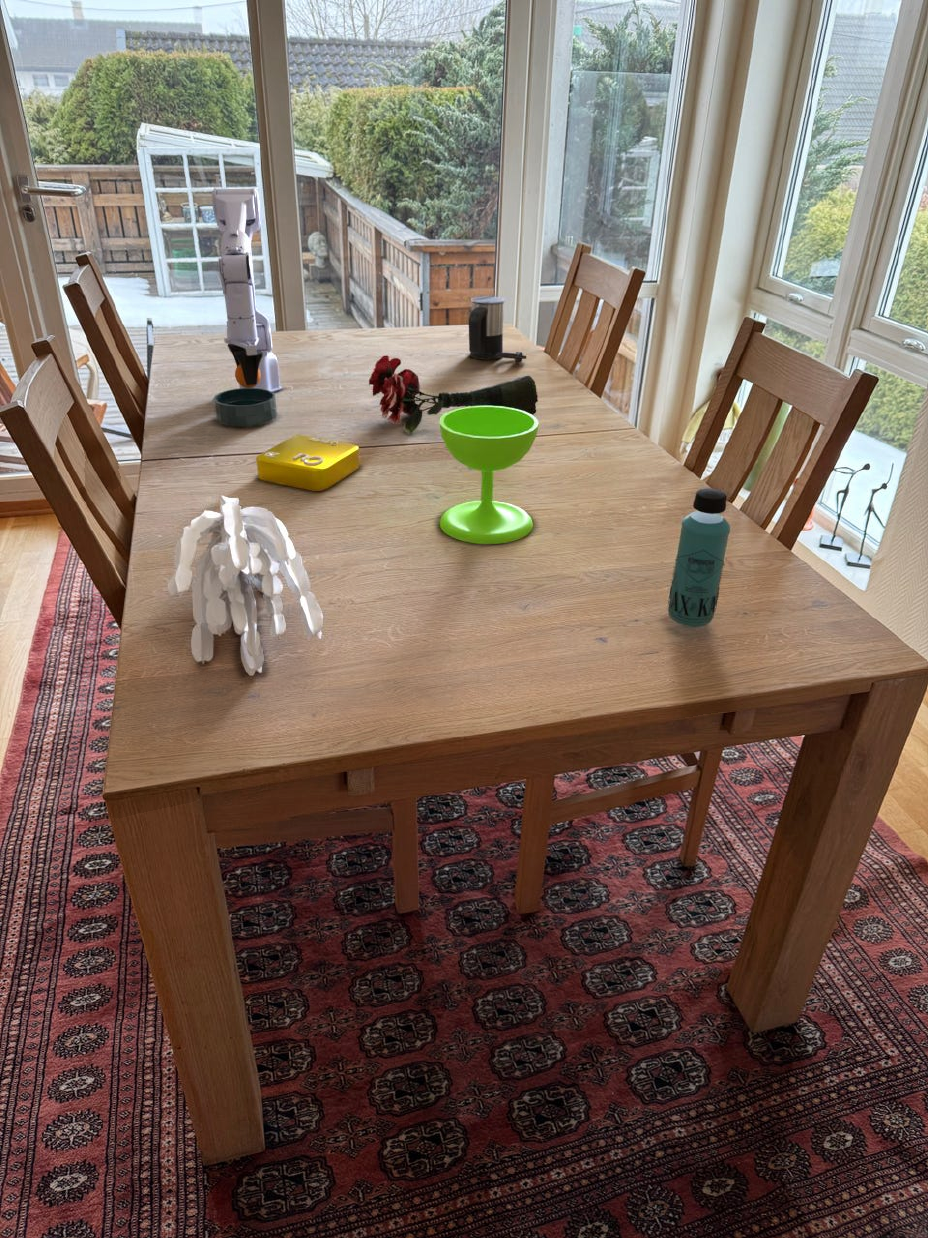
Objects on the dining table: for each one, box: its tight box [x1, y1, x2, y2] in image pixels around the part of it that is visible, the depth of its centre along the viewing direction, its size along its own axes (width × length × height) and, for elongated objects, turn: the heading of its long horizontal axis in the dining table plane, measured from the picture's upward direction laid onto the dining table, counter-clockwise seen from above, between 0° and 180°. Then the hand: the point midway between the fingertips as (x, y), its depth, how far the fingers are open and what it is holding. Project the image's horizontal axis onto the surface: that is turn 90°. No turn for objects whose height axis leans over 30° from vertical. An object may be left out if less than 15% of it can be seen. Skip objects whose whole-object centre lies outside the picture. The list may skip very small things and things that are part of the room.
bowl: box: [212, 387, 278, 428], centre depth 200 cm, size 13×13×5 cm
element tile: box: [255, 434, 360, 492], centre depth 173 cm, size 15×15×5 cm
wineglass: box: [438, 406, 540, 545], centre depth 151 cm, size 16×16×18 cm
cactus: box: [166, 494, 324, 677], centre depth 125 cm, size 17×18×35 cm
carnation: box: [368, 354, 539, 435], centre depth 200 cm, size 16×18×35 cm
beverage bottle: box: [666, 487, 731, 628], centre depth 123 cm, size 6×7×20 cm
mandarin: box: [234, 365, 261, 388], centre depth 197 cm, size 5×5×6 cm
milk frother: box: [468, 295, 527, 363], centre depth 241 cm, size 14×16×15 cm
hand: (248, 380), depth 197 cm, fingers closed on mandarin, 5 cm apart
